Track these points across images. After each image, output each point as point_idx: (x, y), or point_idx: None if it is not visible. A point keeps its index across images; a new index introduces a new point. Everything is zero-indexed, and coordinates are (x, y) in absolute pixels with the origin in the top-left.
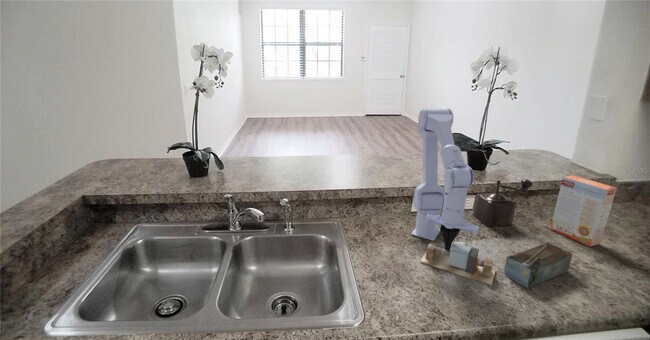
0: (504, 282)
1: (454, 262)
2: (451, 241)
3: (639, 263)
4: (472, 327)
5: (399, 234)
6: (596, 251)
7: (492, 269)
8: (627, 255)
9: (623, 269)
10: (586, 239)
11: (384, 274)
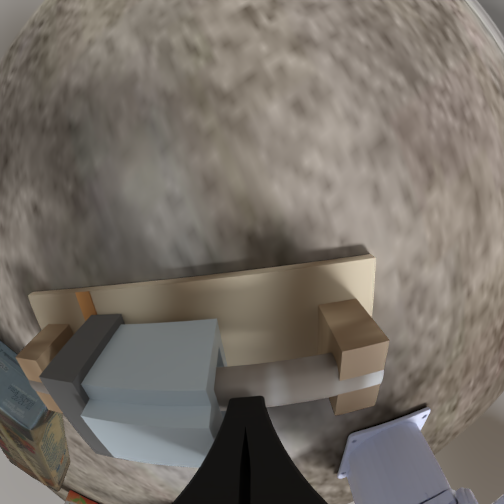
0: (28, 336)
1: (176, 335)
2: (207, 471)
3: None
4: (36, 13)
5: (463, 376)
6: None
7: None
8: None
9: None
10: (74, 500)
11: (440, 49)
